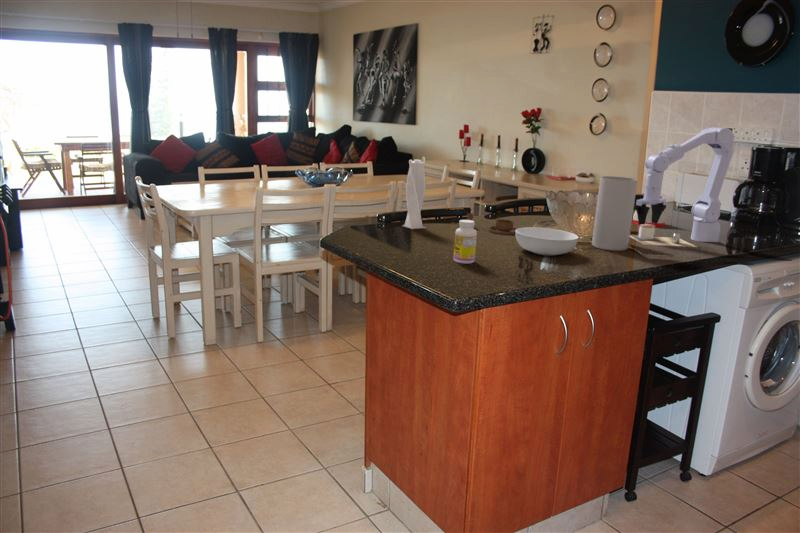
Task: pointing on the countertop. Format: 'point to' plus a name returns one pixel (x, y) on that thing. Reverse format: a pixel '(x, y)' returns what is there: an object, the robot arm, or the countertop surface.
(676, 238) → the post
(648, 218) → the white red spiked dome
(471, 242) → the supplement bottle
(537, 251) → the serving bowl
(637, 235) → the pad
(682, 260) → the countertop surface
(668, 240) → the board
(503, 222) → the place setting
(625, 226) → the cylinder vase
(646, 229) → the brown egg in cup
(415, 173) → the skyscraper
